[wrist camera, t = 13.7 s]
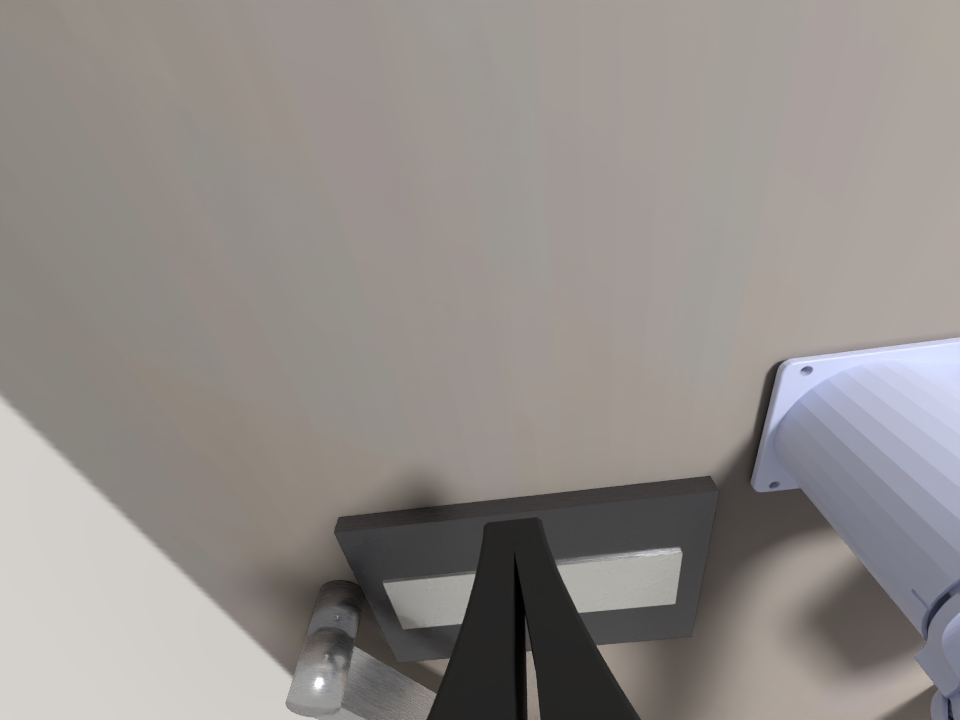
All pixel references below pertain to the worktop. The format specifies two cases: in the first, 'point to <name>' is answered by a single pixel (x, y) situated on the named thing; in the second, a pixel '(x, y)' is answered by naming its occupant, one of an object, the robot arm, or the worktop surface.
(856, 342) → the worktop surface
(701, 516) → the panel
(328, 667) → the swing arm
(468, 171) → the worktop surface
